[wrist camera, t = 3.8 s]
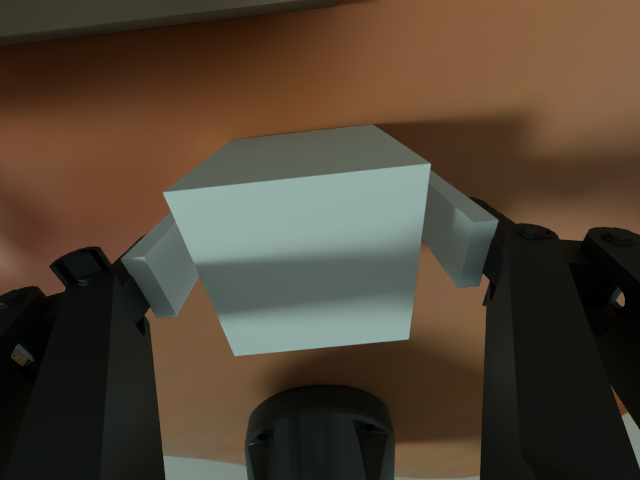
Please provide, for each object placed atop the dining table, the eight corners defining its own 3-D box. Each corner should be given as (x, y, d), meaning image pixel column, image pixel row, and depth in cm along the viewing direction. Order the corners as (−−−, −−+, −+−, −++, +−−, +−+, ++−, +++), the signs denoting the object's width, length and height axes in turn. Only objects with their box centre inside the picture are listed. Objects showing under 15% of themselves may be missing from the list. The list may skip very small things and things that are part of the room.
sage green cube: (371, 244, 16) (408, 339, 10) (261, 256, 16) (234, 356, 10) (373, 124, 13) (430, 163, 7) (230, 140, 13) (163, 192, 7)
